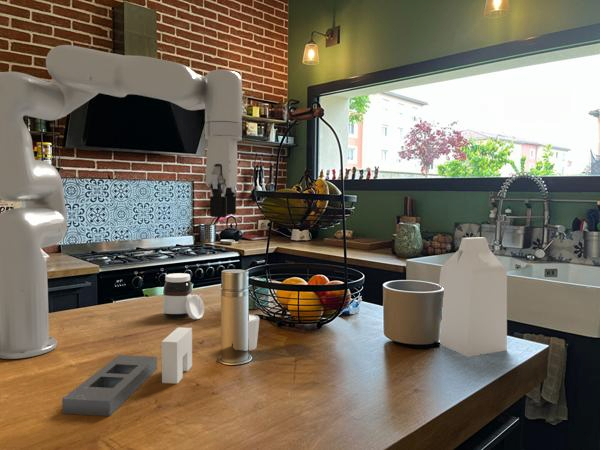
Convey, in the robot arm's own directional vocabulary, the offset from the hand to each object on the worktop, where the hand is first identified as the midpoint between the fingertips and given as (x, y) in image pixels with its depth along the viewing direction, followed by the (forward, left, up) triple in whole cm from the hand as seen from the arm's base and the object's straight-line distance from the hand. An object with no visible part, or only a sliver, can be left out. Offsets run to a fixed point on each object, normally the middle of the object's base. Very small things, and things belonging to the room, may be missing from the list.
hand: (223, 215), depth 100 cm
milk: (+56, +16, -31) cm, 66 cm away
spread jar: (-19, +31, -31) cm, 48 cm away
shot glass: (+3, +8, -31) cm, 32 cm away
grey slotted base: (-16, -17, -31) cm, 39 cm away
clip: (-7, -9, -31) cm, 33 cm away
